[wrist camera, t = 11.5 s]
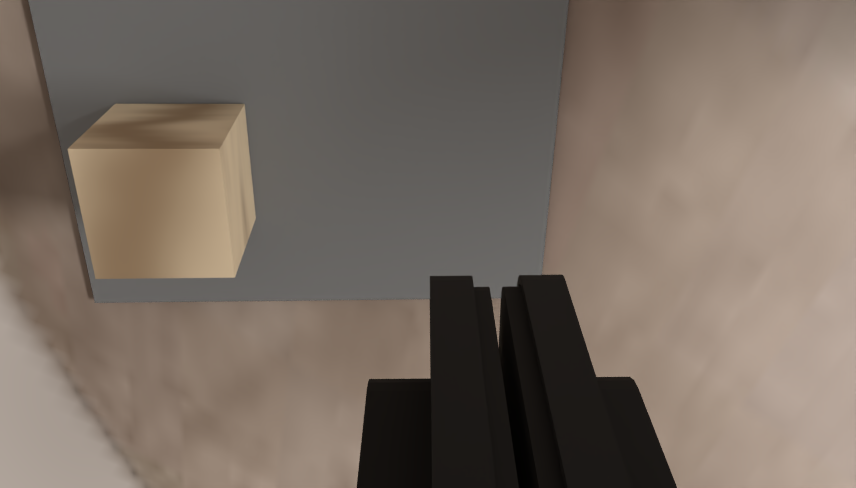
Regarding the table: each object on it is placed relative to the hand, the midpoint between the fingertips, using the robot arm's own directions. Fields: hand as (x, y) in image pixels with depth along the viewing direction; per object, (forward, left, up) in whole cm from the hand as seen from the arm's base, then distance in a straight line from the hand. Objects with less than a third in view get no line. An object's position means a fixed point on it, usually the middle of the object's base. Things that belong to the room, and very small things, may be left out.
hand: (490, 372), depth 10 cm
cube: (+11, +8, -21) cm, 25 cm away
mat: (+5, +8, -28) cm, 29 cm away
